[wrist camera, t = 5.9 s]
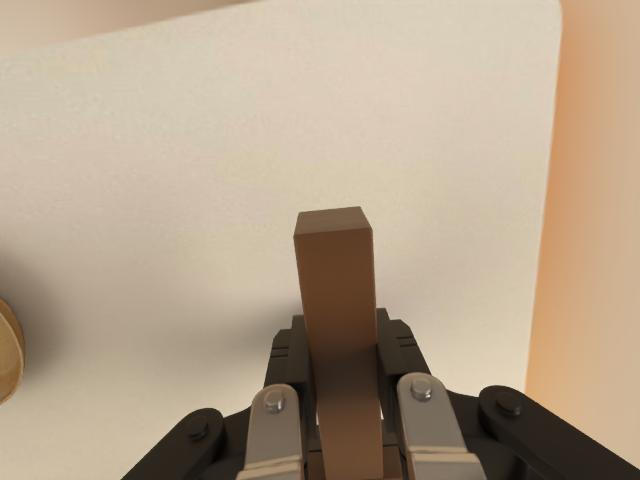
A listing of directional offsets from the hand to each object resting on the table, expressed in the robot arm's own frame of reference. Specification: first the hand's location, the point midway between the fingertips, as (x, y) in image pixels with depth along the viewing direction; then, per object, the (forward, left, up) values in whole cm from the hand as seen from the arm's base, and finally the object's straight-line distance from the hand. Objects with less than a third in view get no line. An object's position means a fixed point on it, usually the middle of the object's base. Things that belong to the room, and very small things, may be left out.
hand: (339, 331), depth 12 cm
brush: (+4, 0, 0) cm, 4 cm away
